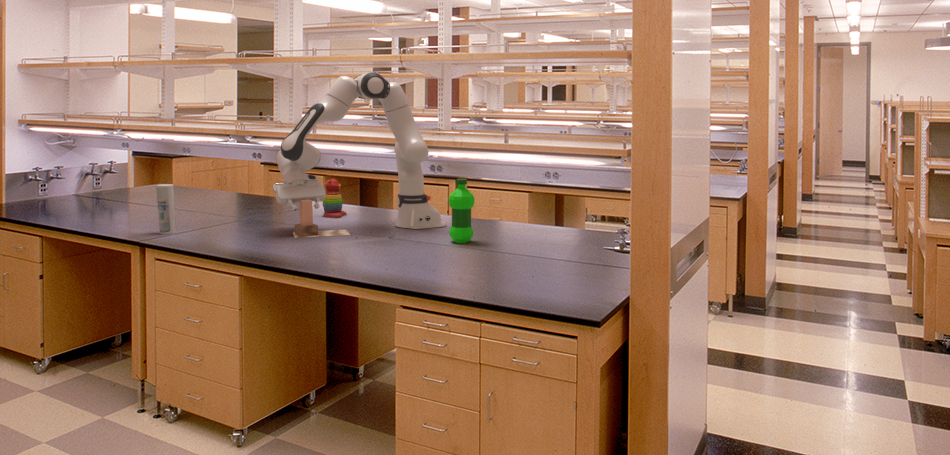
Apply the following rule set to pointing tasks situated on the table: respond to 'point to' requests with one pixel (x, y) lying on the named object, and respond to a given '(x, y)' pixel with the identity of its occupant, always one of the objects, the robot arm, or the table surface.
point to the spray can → (166, 208)
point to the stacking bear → (333, 200)
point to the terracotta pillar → (305, 212)
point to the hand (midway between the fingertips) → (306, 208)
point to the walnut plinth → (306, 230)
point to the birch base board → (327, 233)
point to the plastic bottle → (461, 213)
